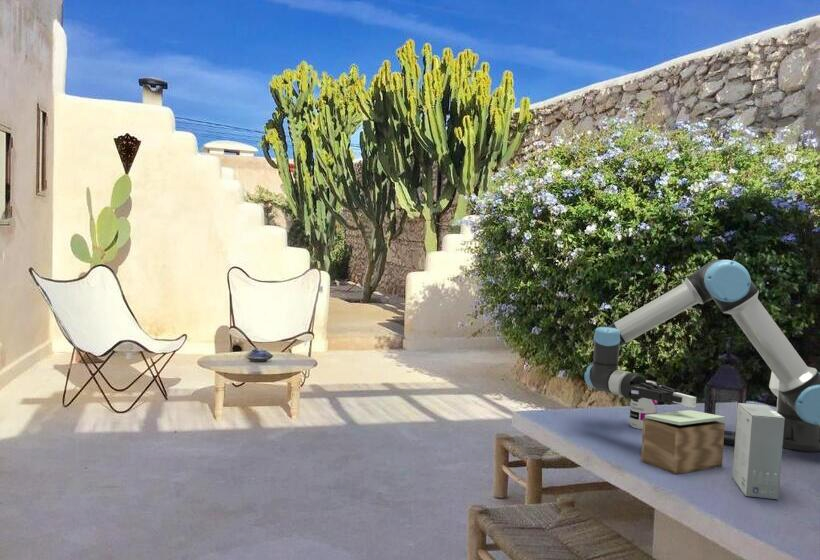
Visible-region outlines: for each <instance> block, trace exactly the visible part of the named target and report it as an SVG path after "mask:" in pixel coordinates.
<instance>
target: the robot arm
mask: <svg viewBox="0 0 820 560" xmlns="http://www.w3.org/2000/svg"><path fill="white" fill-rule="evenodd" d="M759 293H760V291H759V289H758V287H757V286H756V285H755V283H754V282H753V280H752V279H751V275H750V273H749V271H748V269H746V267H745V266H744V265H743V264H741V263H739V262H737V261H735V260H732V259H731V260H730V259H714V260H712V261H709V262H708V263H706V264H705V265H703V266H701V267H700V268H699V269H697V270H696V271H695V272H693V273H691V274H690V275H689V276H686V277H685V278H684V282H683V283H681V284H679V285H677V286H675V287H674V288H672V289H670V290H668V291H667V292H665V293H663V294H662V295H660V296H659V297H656V298H655V299H652V300H651V301H650V302H648V303H646V304H644V305H643V306H641V307H640V308H638V309H636V310H634V311H632V312H630V313H629V314H627V315H625V316H624V317H621V318H620V319H618V320H616V321H614V322H612V324H609V325H607V326H600V327H596V328H595V330H594V335H593V339H592V341H593V361H592V364H590V365H589V366H588V367H586V370H585V372H584V376H583V378H584V383H586V385H587V386H588V387H590V388H592V389H595V390H597V391H600V392H605V393H609V394H612V395H615V396H616V395H617V396H618V398H621V399H622V398H625V399H626V398H627V399H628V400H631V399H632V400H639V399H641V398H647V399H651V400H656V401H657V402H661V403H665V402H666V403H667V405H668V406H670V405H672V403H673V404H677V405H681V406H683V407H684V406H685V407H688V408H692V409H693V408H696V407H697V406H696V405H697V396H693V395H689V394H685V393H682V391H680V390H679V389H674V388H672V387H670V386H669V387H668V386H666V385H665V384H659V385H658V384H657V385H655V384H653V383H650V382H646V380H647V379H646V378H645V377H644V376H642V375H641V374H638V373H635V372H634V373H633V372H631V371H627V370H626V371H625V370H622V369H619V355H620V347H622V346H624V345H626V344H627V343H629V342H630V341H632V340H634V339H636V338H638V337H639V336H642V335H643V334H646V333H647V332H649V331H650V330H652V329H654V328H655V327H658V326H659V325H661V324H663V323H665V322H667V321H668V320H670V319H672V318H674V317H675V316H677V315H679V314H681V313H683V312H684V311H686V310H688V309H690V308H692V307H693V306H695V305H697V304H700V305H704V304H706V303H707V302H709V301H712V300H713V301H714V302H715V304H716V305H717V306H718V308H719V309H720V310H721V312H722V313H723V314H726V315H731V317H732V318H733V319H734V321H735V322H736V324H737V326H739V328H740V329H741V330H742V332H743V333H744V334H745V336H746V337H747V339H748V340H749V341H750V343H751V345H752V346H753V347H754V348H755V349H756V352H757V353H759V355H760V357H761V358H762V359H763V360H764V362H765V364H766V365H767V366H768V367H769V369H770V370H771V373H772V372H773V373H774V374H775V376H776V377H777V379H778V380H779V394H778V409H777V408H776V411H777V413H779V414H780V415H781V416H783V417H784V418H785V421H784V433H783V446H782V449H783V448H784V449H788V450H792V449H793V450H794V451H799V450H800V452H820V372H819V371H818V370H817V368H815V367H811V366H808V365H807V364H806V363H805V361H804V360H803V358H802V357H801V356H800V355H799V353H798V352H797V350H796V349H795V348H794V346H793V345H792V343H791V342H790V341H789V339H788V338H787V337H786V335H785V334H784V333H783V331H782V330H781V328H780V327H779V326H778V324H777V323H776V322H775V320H774V319H773V318H772V316H771V315H770V313H769V312H768V311H767V309H766V308H765V306H764V305H763V304H762V302H761V301H760V300H759ZM793 450H792V451H793Z"/></svg>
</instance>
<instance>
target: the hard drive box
mask: <svg viewBox="0 0 820 560" xmlns="http://www.w3.org/2000/svg"><path fill="white" fill-rule="evenodd" d="M776 411H777V410H775V409H773V408H771V407H770V406H769V405H766V404H757V403H756V404H755V403H754V404H753V403H744V402H742V403H741V402H738V403H737V410H736V421H735V422H736V423H735V437H734V451H733V462H732V463H733V464H732V479H733V480H734V482H735V483H736V484H737V485H738V487H739V488H740V490H741V492H742V493H743V494H744V495H745V497H746V496H747V497H755V498H761V499H772V500H779V498H780V497H779V496H780V485H781V473H782V472H781V471H782V461H783V459H782V458H783V447H782V446H783V433H784V421H785V418H784V417H783V416H781V415H780V414H779V413H777V412H776Z"/></svg>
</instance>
